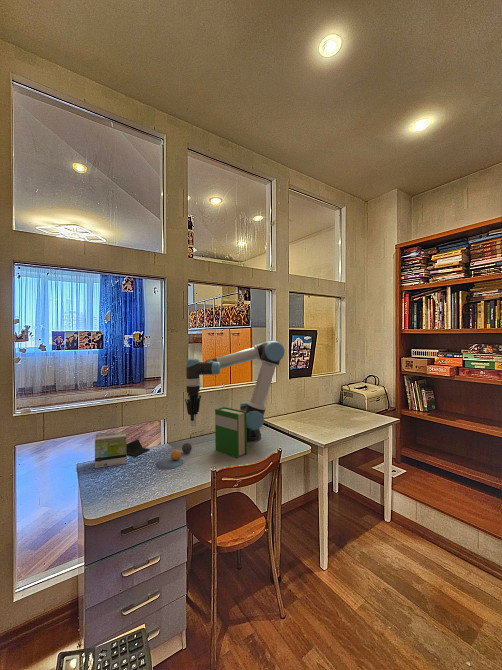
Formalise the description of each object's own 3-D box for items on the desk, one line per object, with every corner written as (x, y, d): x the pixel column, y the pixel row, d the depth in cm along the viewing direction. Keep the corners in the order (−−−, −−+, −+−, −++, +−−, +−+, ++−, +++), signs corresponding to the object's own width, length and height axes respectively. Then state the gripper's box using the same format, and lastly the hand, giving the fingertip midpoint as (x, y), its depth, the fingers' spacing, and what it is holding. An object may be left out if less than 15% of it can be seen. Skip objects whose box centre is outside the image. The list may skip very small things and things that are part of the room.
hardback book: (246, 454, 171) (246, 411, 171) (237, 458, 165) (237, 414, 165) (224, 446, 183) (224, 406, 182) (215, 450, 177) (215, 409, 177)
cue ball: (187, 443, 171) (186, 454, 170) (194, 442, 176) (193, 452, 175) (180, 442, 174) (179, 453, 173) (186, 441, 178) (186, 451, 177)
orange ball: (182, 448, 165) (175, 454, 160) (183, 457, 166) (177, 463, 162) (174, 446, 168) (167, 452, 163) (175, 455, 169) (169, 461, 164)
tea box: (94, 469, 154) (94, 440, 154) (95, 461, 164) (95, 434, 163) (126, 463, 160) (126, 435, 160) (126, 456, 170) (126, 430, 169)
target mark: (188, 460, 163) (188, 460, 163) (171, 471, 151) (171, 471, 151) (168, 456, 169) (168, 455, 169) (149, 466, 157) (149, 466, 157)
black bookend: (139, 454, 168) (130, 438, 171) (129, 462, 169) (121, 446, 172) (151, 449, 179) (143, 435, 182) (142, 456, 180) (134, 442, 183)
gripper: (194, 383, 186) (195, 421, 186) (180, 386, 174) (181, 428, 175) (204, 384, 183) (205, 423, 183) (191, 387, 171) (192, 429, 171)
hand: (193, 425), depth 179 cm, fingers closed
